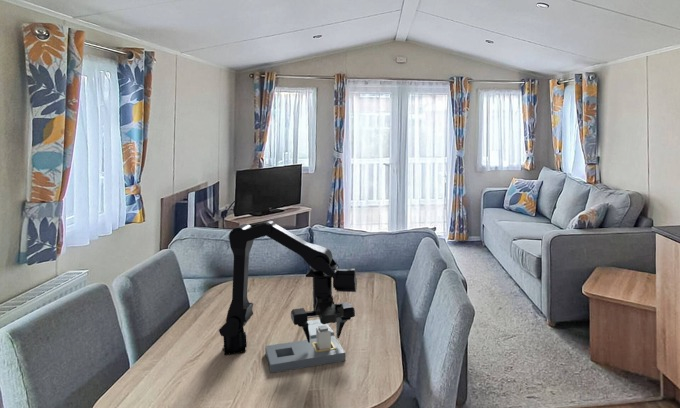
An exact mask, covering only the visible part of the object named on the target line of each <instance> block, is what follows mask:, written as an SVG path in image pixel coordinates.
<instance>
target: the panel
mask: <svg viewBox="0 0 680 408" xmlns="http://www.w3.org/2000/svg"><path fill="white" fill-rule="evenodd" d="M264 347H265V348H264V349H265V357H266V360H267V363H268V367H269V368H268V369H269V371H270V374H272V373H273V374H274V373H279V372H280V373H281V372H285V371H291V370H298V369H303V368H310V367H316V366H320V365H327V364H328V365H329V364H333V363H339V362H344V361H346V351H345V349H343V347H342V346H341V344H340V342H339V341H338V338H337V337H336V336H335V335H331V349H324V350H317V342H316V338H313V339H310V343H308V341H307V339H303V340H296V341H290V342H288V341H287V342H283V343H276V344H270V345H265V346H264Z"/></svg>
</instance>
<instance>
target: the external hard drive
mask: <svg viewBox="0 0 680 408" xmlns="http://www.w3.org/2000/svg"><path fill="white" fill-rule="evenodd" d="M307 323H308V324H309V326H308V329H309V336H310V339H315V338H316V328H318V326H324V325H326V326H328V328H329V329H330V331H331V336H335V331H334V330H333V329H332V328H331V327H330V326H329V323H327V324H322V323H321V322H320V319H319V318H317V319H312V320H308V321H307Z"/></svg>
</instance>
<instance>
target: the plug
mask: <svg viewBox="0 0 680 408" xmlns="http://www.w3.org/2000/svg"><path fill="white" fill-rule="evenodd" d="M331 336H332V335H331V331H330V329H329V328H328V326H326V325H324V326H318V328H316V342H317V350H324V349H331Z"/></svg>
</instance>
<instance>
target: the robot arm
mask: <svg viewBox="0 0 680 408" xmlns="http://www.w3.org/2000/svg"><path fill="white" fill-rule="evenodd" d="M262 237H268V238H270V239H271V240H273V241H275V242H276V243H277V244H280V245H282V246H283V247H285V248H287V249H288V250H290V251H292V252H293V253H295V254H297V255H299V256H300V257H301V258H302V259H303V261H304V262H305V263H306V264H307V265H308V266H310V267H311V268H310V269H309V270H308V271H307V273H306V274H305V277H306V278H312V309H313V310H309V311H306V310H305V308H304V307H300V308H294V309H293V308H292V310H291V311H290V319H291V321H292V323H293V324H294V325H295V326H297V327H301V328H302V330H303V332H304V334H305V337H306V340H307V341H308V343H310V336H309V329H308V326H309V324H308V323H307V321H309V320H308V319H310V318H318V319H320V322H321V323H322V324H335V323H336V326H335V328H336V330H335V331H336V339H340V337H341V333H342V331H343V328H344V326H345V324H346V323H347V322H348V321H350V320H351V318H354V317H355V316H356V310H355V308H354V306H352V304H351V303H350V302H348V301H347V302H340V303H335V302H334V297H333V289H334V290H335V291H336V292H338V293H339V292H343V293H356V292H357V288H358V286H357V285H358V277H357V273H356V272H357V271H356V268H340V266H339V265H338V263H337V262H336V260H335V259H334V258H333V254H332V251H331V250H330V249H329V248H328V247H324V246H321V245H320V244H315V243H310V242H307V241H306V240H304V239H303V238H301V237H299V236H298V235H296V234H294V233H292V232H290V231H289V230H287V229H285V228H283V227H282V226H280V225H279V224H276V222H274V221H273V220H267V221H264V222H260V223H254V224H251V225H250V224H247V223H243V224H240V225H238V226H237V227H234V228H233V229H231V231H230V232H229V235H228V239H229V246H230V249H231V250H230V251H231V252H232V255H233V263H232V264H233V267H232V268H233V270H232V293H231V294H232V295H231V301H230V302H231V303H230V305H229V306H228V310H227V313H226V319H225V322H224V324H223V325H222V326H221V327H219V329H218V332H219V335H220V336H221V337H222V338H223V355H224V356H227V355H232V354H233V355H234V354H240V353H246V351H247V350H246V348H247V345H248V343H247V333H246V332H245V330H244V327H245V326H246V324H247V323H248V322H249V321H250V319H251V318H252V316H253V315H254V312H253V308H254V302H250V301H249V299H248V287H249V285H248V284H249V283H248V281H249V263H250V259H249V258H250V252H251V250H252V247H253V244H254V240H257V239H259V238H262Z"/></svg>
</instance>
